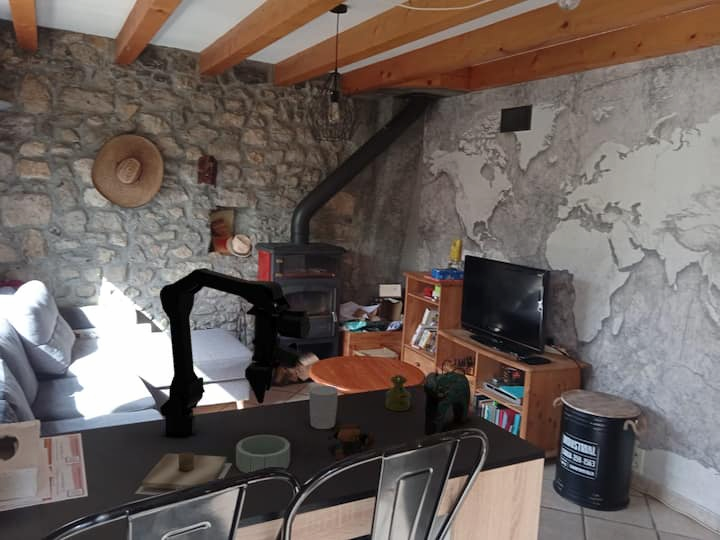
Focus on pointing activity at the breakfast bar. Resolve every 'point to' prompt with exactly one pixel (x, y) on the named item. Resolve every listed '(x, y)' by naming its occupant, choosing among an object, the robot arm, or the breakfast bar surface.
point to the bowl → (262, 453)
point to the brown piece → (351, 440)
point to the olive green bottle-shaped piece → (398, 395)
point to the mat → (161, 490)
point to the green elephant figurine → (445, 398)
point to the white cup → (323, 406)
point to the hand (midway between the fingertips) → (264, 396)
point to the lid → (184, 470)
